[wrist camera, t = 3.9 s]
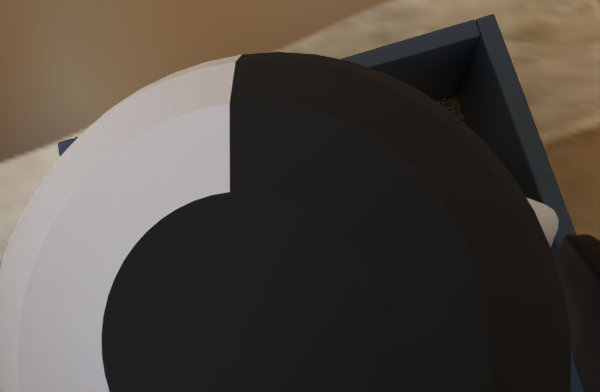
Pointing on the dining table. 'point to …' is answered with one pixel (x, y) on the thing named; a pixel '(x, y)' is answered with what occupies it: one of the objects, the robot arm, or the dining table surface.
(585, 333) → the robot arm
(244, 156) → the medicine bottle
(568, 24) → the dining table surface
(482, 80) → the caddy
